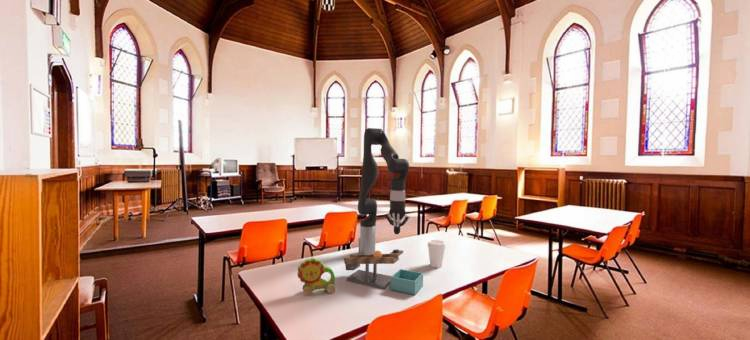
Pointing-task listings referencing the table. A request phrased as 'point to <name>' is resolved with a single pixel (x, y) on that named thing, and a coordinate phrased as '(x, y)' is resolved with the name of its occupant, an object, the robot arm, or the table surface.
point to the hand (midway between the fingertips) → (397, 233)
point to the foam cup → (436, 252)
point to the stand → (370, 277)
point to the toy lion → (315, 276)
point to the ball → (377, 254)
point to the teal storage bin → (407, 282)
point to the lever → (371, 259)
